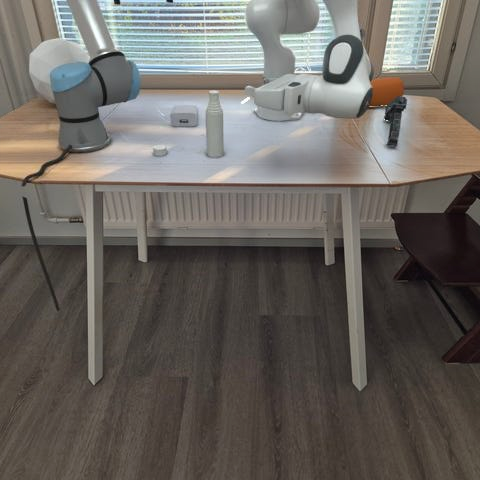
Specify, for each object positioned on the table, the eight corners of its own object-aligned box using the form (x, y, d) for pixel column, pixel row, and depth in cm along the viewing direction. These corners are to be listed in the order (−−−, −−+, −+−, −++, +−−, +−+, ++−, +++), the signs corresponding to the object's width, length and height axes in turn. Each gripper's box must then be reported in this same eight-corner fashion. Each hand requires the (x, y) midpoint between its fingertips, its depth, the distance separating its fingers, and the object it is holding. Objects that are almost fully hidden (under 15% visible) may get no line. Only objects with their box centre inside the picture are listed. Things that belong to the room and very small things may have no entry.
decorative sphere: (40, 71, 170) (16, 23, 147) (101, 69, 175) (88, 22, 151) (40, 120, 164) (15, 77, 140) (104, 116, 168) (91, 75, 144)
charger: (199, 113, 156) (197, 126, 144) (175, 113, 156) (171, 126, 143) (198, 100, 153) (196, 113, 141) (174, 100, 153) (170, 113, 141)
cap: (165, 150, 126) (164, 144, 125) (167, 155, 123) (166, 148, 122) (152, 151, 125) (152, 145, 124) (154, 156, 122) (154, 150, 121)
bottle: (207, 157, 122) (205, 94, 111) (206, 151, 126) (204, 89, 115) (224, 157, 122) (223, 93, 112) (222, 150, 126) (221, 88, 116)
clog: (345, 115, 162) (406, 107, 163) (347, 87, 156) (410, 79, 157) (336, 106, 172) (394, 98, 173) (337, 80, 166) (397, 72, 167)
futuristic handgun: (389, 146, 153) (397, 104, 149) (399, 145, 125) (409, 94, 122) (379, 144, 154) (386, 103, 150) (386, 144, 126) (395, 93, 122)
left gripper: (77, -116, 81) (97, 6, 93) (191, -106, 92) (196, 2, 104) (70, -112, 87) (89, 3, 99) (178, -103, 97) (184, 0, 109)
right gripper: (320, 71, 107) (272, 65, 112) (288, 89, 92) (235, 81, 97) (317, 96, 110) (271, 89, 116) (286, 116, 95) (235, 107, 101)
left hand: (144, 3), depth 101 cm, fingers open, 13 cm apart
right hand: (254, 85), depth 106 cm, fingers open, 8 cm apart
